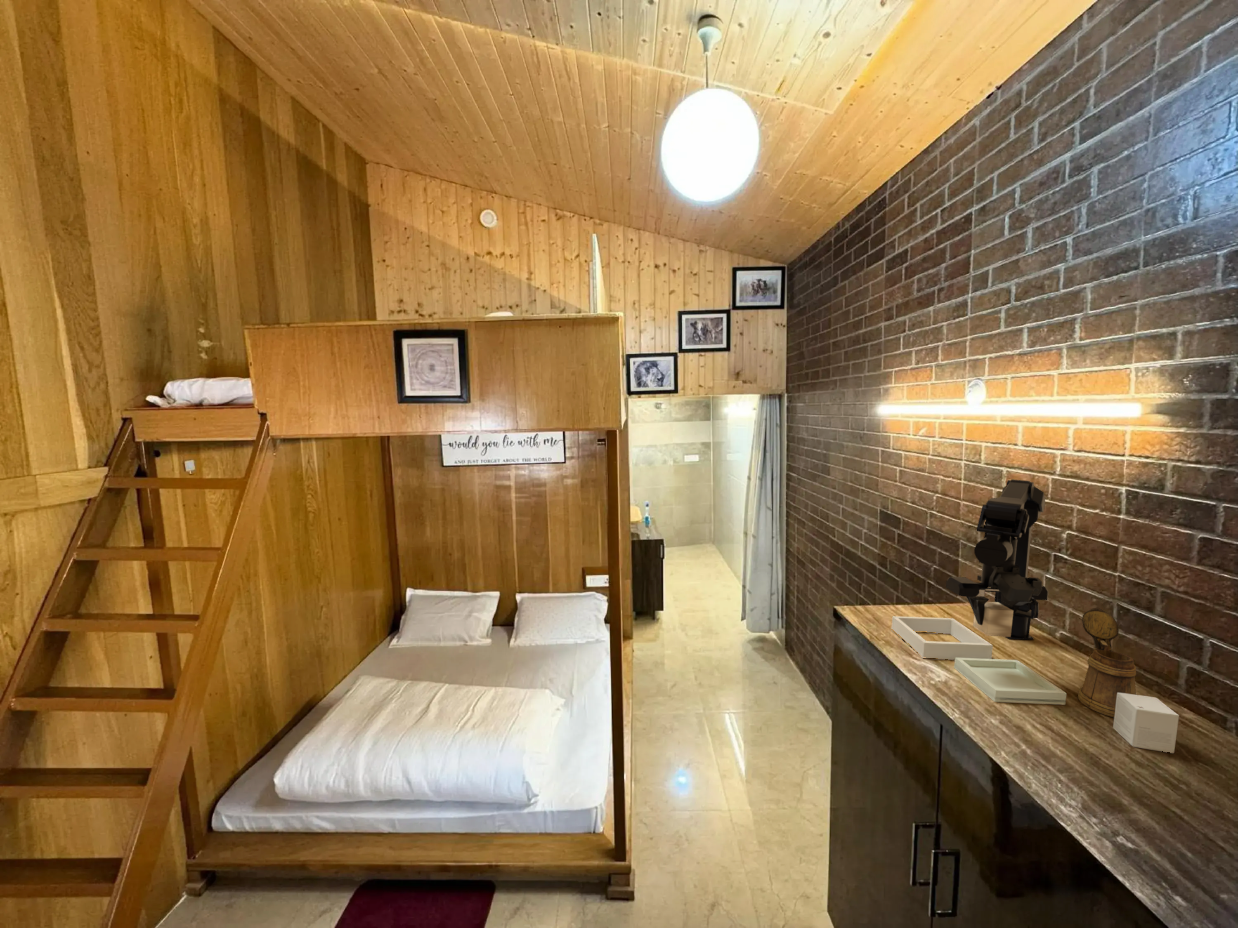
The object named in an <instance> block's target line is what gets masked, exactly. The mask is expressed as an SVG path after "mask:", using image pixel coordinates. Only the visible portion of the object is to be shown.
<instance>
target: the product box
mask: <svg viewBox="0 0 1238 928" xmlns="http://www.w3.org/2000/svg"><path fill="white" fill-rule="evenodd" d="M1179 718H1180V715H1179V714H1178V713H1176V712H1175V711H1174V710H1173V709H1171V708H1170V707H1169V706H1168V705H1167V704H1165V703H1163V701H1161V700H1160V699H1159V698H1157V697H1153V696H1147V695H1140V694H1136V695H1133V694H1126V693H1117V698H1116V708H1115V716H1114V717H1113V726H1112V729H1114V730H1115V731H1116V732H1117V733H1118V734H1119V735H1120V736H1121V737H1122V738H1123V739H1124V740H1126V742H1127V743H1128V744H1129V745H1130V746H1131V747H1133V748H1140V749H1145V750H1151V751H1157V752H1162V751H1163V752H1162V753H1167V752H1170V754H1174V753H1175V750H1176V749H1175V747H1176V741H1177V740H1176V739H1177V734H1178V725H1179V720H1180V719H1179Z"/></svg>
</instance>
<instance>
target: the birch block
mask: <svg viewBox="0 0 1238 928" xmlns="http://www.w3.org/2000/svg"><path fill="white" fill-rule="evenodd" d="M1012 620H1013V610H1011V609H1010V608H1008V607H1006V606H1004V605H1002V604H1000V603H999V602H995V601H987V602H986V603H985V608H984V620H983V624H982V625H979V624H978V623H977V620H976V618H975V615H974V614H973V625H972V627H973V628H975V629H977V630H978V631H979V632H981V634H982V633H983V634H984V635H985V636H988V637H989V636H990V637H1005V638H1007V637H1011V629H1012Z"/></svg>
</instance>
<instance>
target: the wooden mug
mask: <svg viewBox="0 0 1238 928" xmlns="http://www.w3.org/2000/svg"><path fill="white" fill-rule="evenodd" d="M1081 621H1082V627H1083V630H1084V631H1085V632H1086V633H1087V634H1088V636H1090V637H1092V639H1093V644H1094V645H1093V650H1092V653H1091V654H1090V655H1089V657H1088V658H1087V661H1086V663H1087V664H1088V667H1087V671H1086V673H1085V677H1084V681H1083V683H1082V686H1081V687H1080V688H1079V690H1078V696H1077V699H1078V700H1079V701H1080V702H1081V704H1082V705H1084V706H1085V707H1087V708H1089V709H1091V710H1092V711H1095V712H1097V713H1099V714H1101V715H1105V716H1107V717H1110V718H1114V716H1115V708H1116V698H1117V693H1126V694H1133V695H1137V689H1136V688H1137V687H1136V677H1135V676H1136V675H1137V669H1136V668H1137V666H1136V664H1135V661H1134V658H1133V657H1132V656H1130V655H1127V654H1124V653H1121V652H1117V651H1114V650H1113V647H1112V643H1111V641H1112V640H1114V639H1116V637H1118V636H1119V624H1118V622H1117V620H1116V619H1115V617H1113V616H1112V615H1111V614H1110V613H1108V612H1107V611H1106V610H1104V609H1102V608H1100V607H1097V606H1096V607H1094V608H1091V609H1089V610H1087V611H1086V612H1084V613H1083V614H1082V619H1081Z"/></svg>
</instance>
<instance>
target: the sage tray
mask: <svg viewBox="0 0 1238 928" xmlns="http://www.w3.org/2000/svg"><path fill="white" fill-rule="evenodd" d="M953 668H954V669H955V670H956V671H958V673H960V674H961V675H962V676H963V677H964V678H966V679H967V680H968V681H969V682H971V684H973V685H974V686H975V687H976V688H978V689H979V690H980V691H981V692H982V693H983V694H985V695H986V696H987V697H988V698H990V700H992V701H993V702H994V703H1018V704H1035V705H1038V704H1039V705H1040V704H1041V705H1063V706H1065V705H1066V702H1067V693H1066V692H1065V691H1064V690H1062V689H1061V688H1060V687H1058V686H1057V685H1056V684H1053V683H1052V682H1051V681H1049V680H1048V679H1046V678H1045V677H1043V676H1042V675H1040V674H1039V673H1037V672H1036V671H1034V670H1033V669H1032V668H1030V667H1028V666H1027V665H1025V664H1024V663H1022V661H1019V660H1018V659H1006V658H1004V659H1002V658H1001V659H999V658H992V659H978V658H955V660H954V665H953Z"/></svg>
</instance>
